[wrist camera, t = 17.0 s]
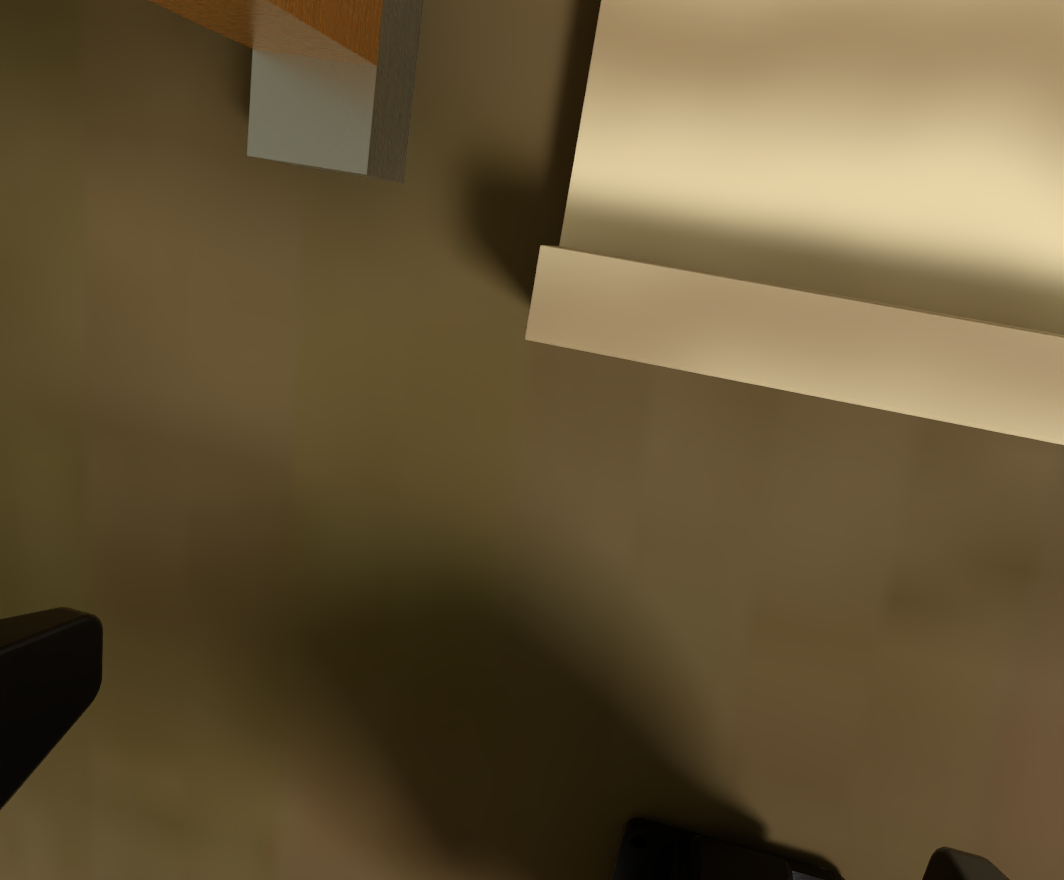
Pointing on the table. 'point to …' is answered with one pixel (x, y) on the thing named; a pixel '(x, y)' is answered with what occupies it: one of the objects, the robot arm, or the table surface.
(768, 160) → the slotted block
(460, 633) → the table surface
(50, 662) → the robot arm
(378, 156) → the grey-ended wooden block
